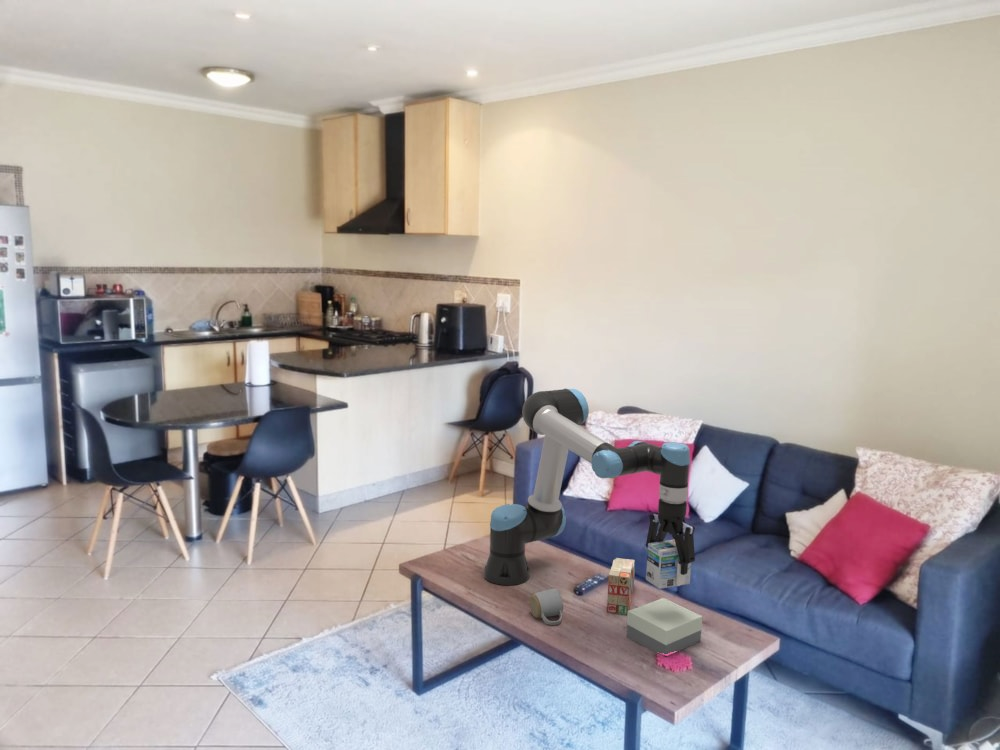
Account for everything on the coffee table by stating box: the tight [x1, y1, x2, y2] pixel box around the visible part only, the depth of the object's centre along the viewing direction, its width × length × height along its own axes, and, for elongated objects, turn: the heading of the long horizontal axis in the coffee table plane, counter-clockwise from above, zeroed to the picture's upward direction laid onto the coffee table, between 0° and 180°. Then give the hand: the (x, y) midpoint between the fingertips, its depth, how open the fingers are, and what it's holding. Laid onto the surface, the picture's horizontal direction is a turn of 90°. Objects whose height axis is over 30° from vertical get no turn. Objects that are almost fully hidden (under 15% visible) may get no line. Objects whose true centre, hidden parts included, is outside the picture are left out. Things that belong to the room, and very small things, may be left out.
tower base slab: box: [626, 624, 702, 654], centre depth 210 cm, size 14×15×4 cm
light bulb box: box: [645, 538, 692, 590], centre depth 206 cm, size 11×7×11 cm, turn 114°
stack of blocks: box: [606, 557, 636, 616], centre depth 234 cm, size 21×6×12 cm, turn 165°
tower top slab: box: [626, 597, 704, 645], centre depth 209 cm, size 14×15×4 cm
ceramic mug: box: [529, 587, 564, 626], centre depth 220 cm, size 11×8×8 cm
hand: (668, 579), depth 207 cm, fingers closed on light bulb box, 8 cm apart
